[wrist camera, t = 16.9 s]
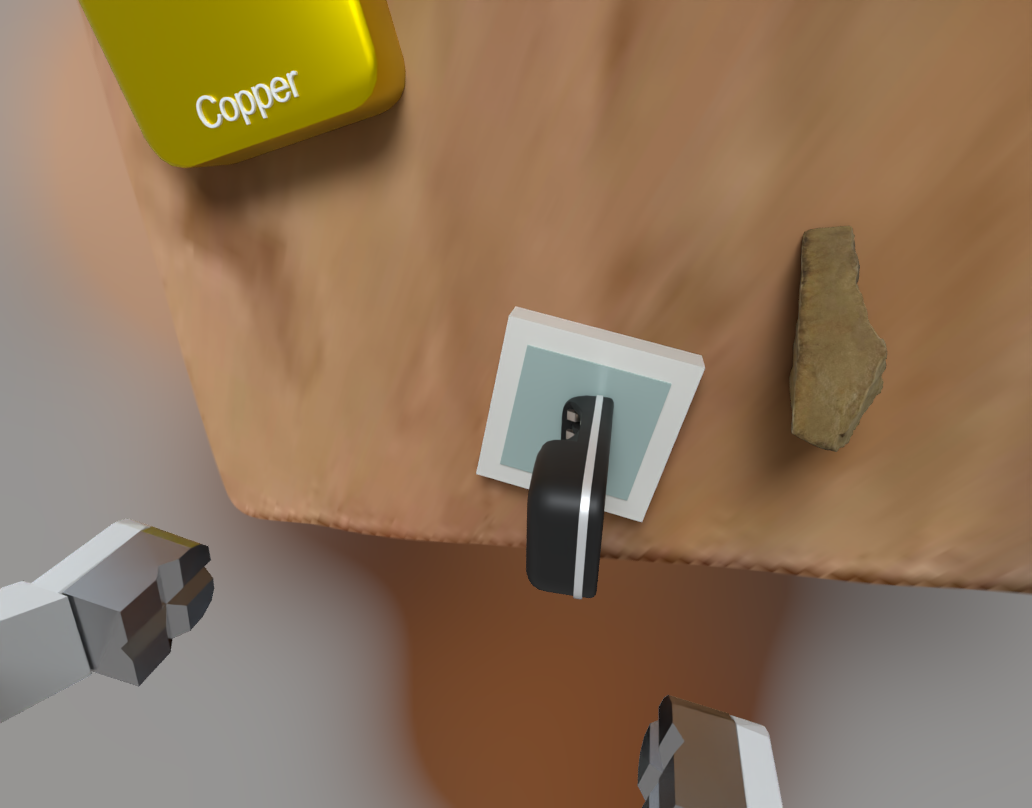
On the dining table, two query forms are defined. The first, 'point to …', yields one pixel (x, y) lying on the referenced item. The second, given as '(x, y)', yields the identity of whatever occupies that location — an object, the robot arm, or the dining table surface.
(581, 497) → the battery charger
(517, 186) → the dining table surface
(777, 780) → the robot arm
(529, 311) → the plate
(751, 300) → the dining table surface
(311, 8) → the element tile
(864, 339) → the rock
